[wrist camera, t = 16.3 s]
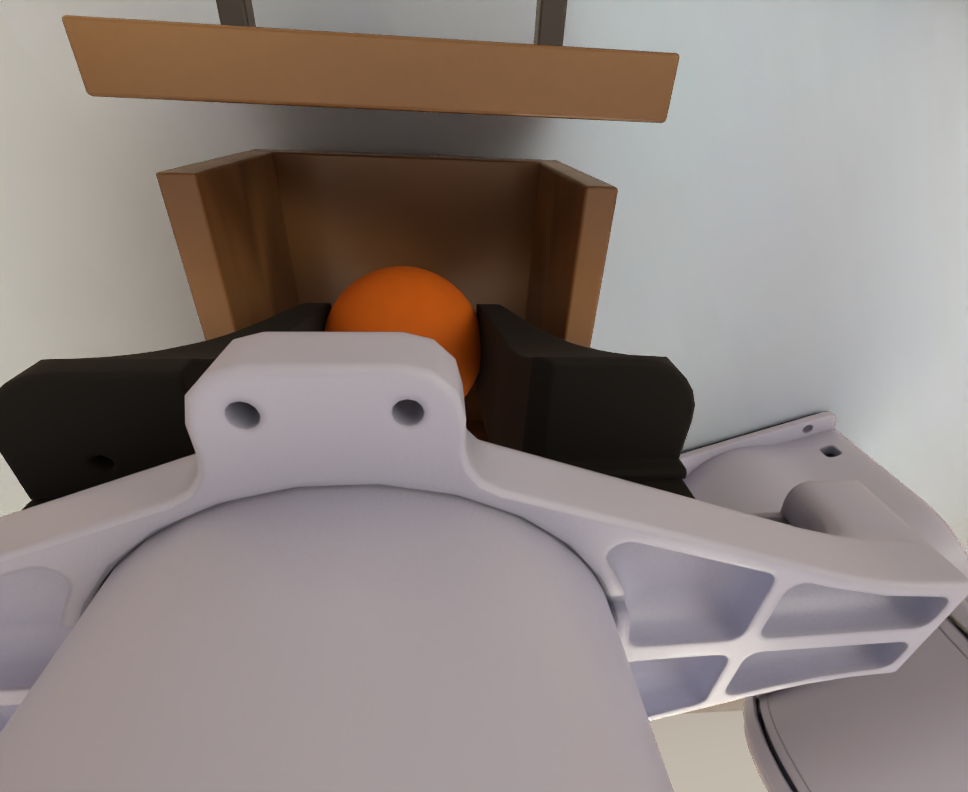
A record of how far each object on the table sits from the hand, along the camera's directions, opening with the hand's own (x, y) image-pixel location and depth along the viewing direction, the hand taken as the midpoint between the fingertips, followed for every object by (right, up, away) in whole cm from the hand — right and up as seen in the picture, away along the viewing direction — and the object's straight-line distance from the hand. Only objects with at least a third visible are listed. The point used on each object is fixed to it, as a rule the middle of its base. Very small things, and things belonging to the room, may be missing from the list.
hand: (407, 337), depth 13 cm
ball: (0, 0, -1) cm, 1 cm away
